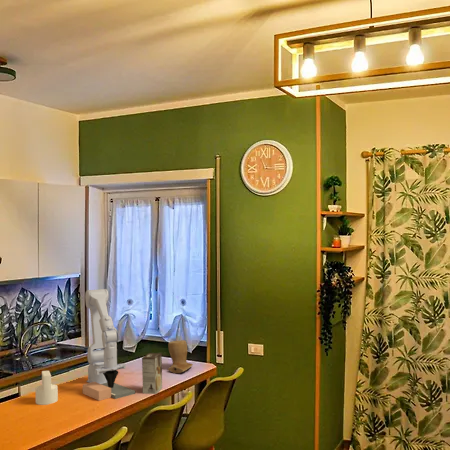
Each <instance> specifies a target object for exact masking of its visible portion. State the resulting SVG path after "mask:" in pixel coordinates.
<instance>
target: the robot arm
mask: <svg viewBox="0 0 450 450" xmlns="http://www.w3.org/2000/svg"><path fill="white" fill-rule="evenodd" d="M84 299H85V300H84V301H85V306H86V308H87V309H89V312H90V323H91V334H92V343H91V344H90V345H89V346H88V348H87V362H88V364H89V365H88V367H87V380H86V383H91V382H97V383H99V384H103V383H108V387H109V388H113V386H114V383H116V382H115V381H116V379H117V376H118V375H119V371H118V370H122V369H126V364H125V363H118V349H117V347H118V345H117V343H118V342H119V335H120V334H119V331H118V330H117V329H116V327H115V325H114V322H113V319H112V316H110V315H109V314H108V313H109V312H108V307H107V304H108V301H109V291H108V289H107V288H101V289H87V290H86V291H85V294H84Z"/></svg>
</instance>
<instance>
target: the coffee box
mask: <svg viewBox="0 0 450 450" xmlns="http://www.w3.org/2000/svg"><path fill="white" fill-rule="evenodd" d="M162 354H163V353H159V352H158V353H152V352H151V353H150V352H149V353H147V354H146V355H144V356H143V357H142V359H141V362H142V363H141V365H142V366H141V368H142V369H141V371H142V374H141V375H142V394H146V395H147V394H148V395H157V394H158V393H160V391H161V390H162V389H163V363H162V362H163V359H162Z"/></svg>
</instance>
